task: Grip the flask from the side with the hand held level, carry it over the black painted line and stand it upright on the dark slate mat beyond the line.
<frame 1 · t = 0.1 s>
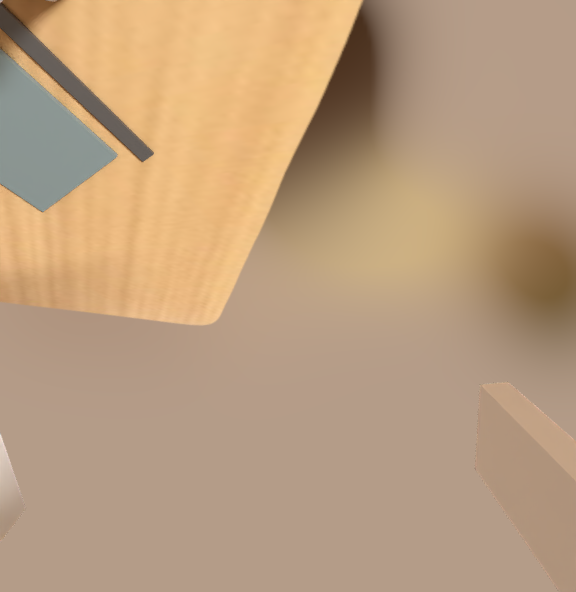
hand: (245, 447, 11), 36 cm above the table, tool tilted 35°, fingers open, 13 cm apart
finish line: (7, 21, 32), on the table
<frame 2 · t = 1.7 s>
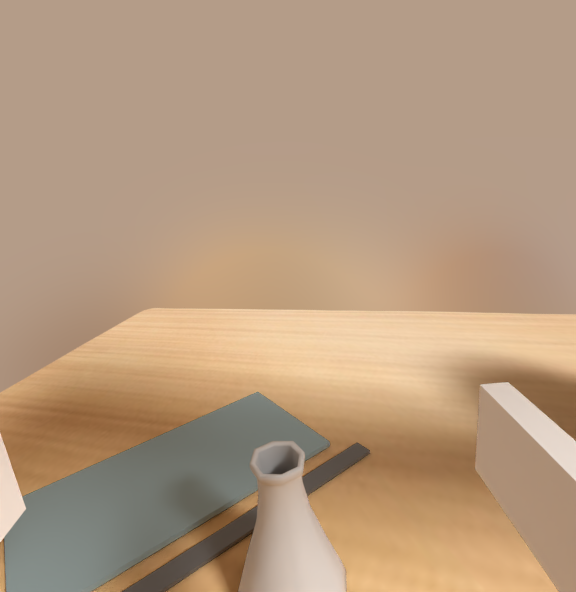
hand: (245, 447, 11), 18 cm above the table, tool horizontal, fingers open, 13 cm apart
flask: (293, 589, 25), on the table
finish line: (221, 542, 29), on the table
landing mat: (176, 476, 36), on the table
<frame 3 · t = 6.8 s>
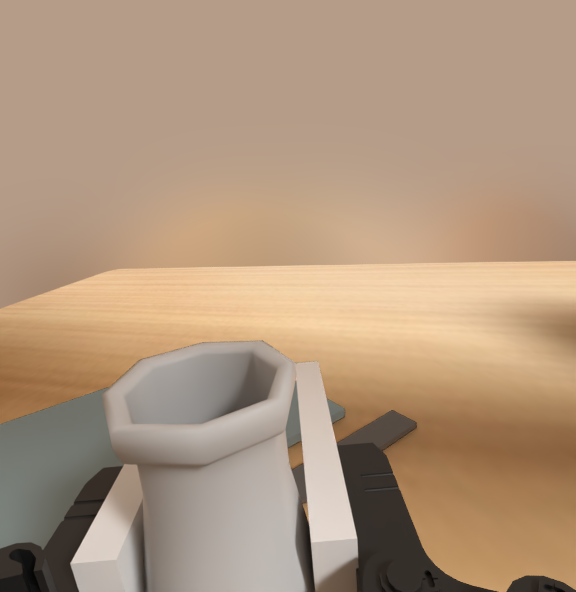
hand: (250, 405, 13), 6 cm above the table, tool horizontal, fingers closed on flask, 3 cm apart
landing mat: (72, 464, 20), on the table
when the fingers open (8 cm above the table, at t = 11.8 s): flask drops 1 cm, resting on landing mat.
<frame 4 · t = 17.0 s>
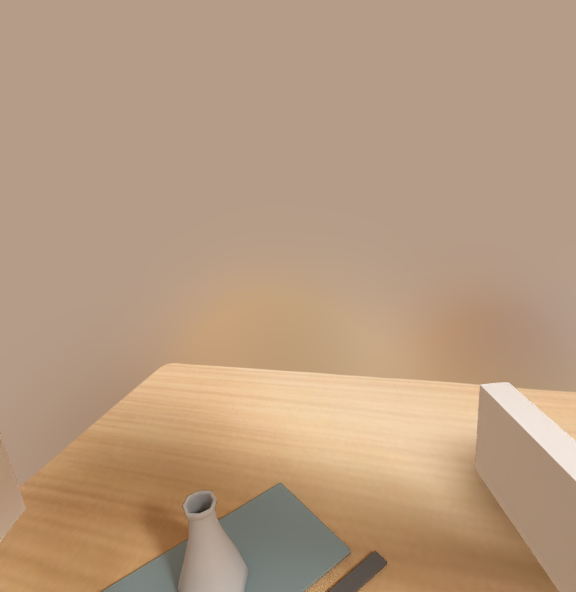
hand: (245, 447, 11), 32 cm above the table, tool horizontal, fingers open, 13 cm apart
flask: (214, 582, 40), resting on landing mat
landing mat: (214, 584, 40), on the table
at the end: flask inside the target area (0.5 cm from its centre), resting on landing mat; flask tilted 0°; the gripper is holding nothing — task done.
